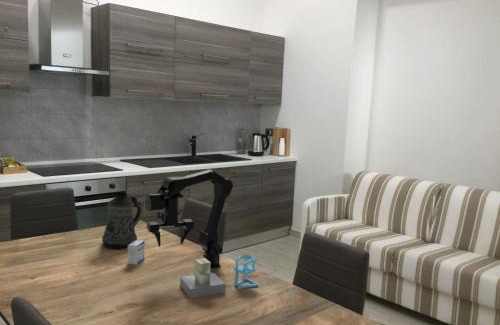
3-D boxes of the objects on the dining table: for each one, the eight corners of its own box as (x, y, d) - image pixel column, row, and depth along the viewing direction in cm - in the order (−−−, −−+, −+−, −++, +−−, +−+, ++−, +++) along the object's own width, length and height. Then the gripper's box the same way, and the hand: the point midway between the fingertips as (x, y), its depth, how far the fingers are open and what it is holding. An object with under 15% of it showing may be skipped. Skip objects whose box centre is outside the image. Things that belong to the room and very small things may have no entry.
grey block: (213, 281, 179) (213, 272, 179) (224, 293, 169) (225, 283, 168) (180, 286, 173) (180, 277, 172) (190, 299, 162) (190, 289, 162)
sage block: (204, 277, 173) (204, 257, 172) (209, 282, 169) (210, 262, 167) (195, 279, 171) (195, 259, 170) (200, 284, 167) (200, 264, 165)
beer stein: (94, 247, 211) (94, 196, 207) (118, 235, 229) (118, 188, 226) (125, 252, 206) (125, 200, 203) (146, 240, 225) (147, 192, 221)
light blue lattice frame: (230, 284, 176) (231, 255, 175) (246, 279, 182) (247, 251, 180) (242, 291, 170) (243, 261, 169) (258, 286, 176) (259, 257, 174)
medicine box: (136, 265, 191) (137, 246, 190) (127, 264, 192) (127, 244, 191) (144, 258, 199) (145, 240, 198) (135, 257, 200) (135, 239, 199)
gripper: (187, 202, 190) (186, 237, 192) (143, 205, 182) (143, 241, 184) (195, 209, 180) (194, 245, 183) (150, 212, 172) (149, 250, 174)
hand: (170, 245), depth 181 cm, fingers open, 9 cm apart
